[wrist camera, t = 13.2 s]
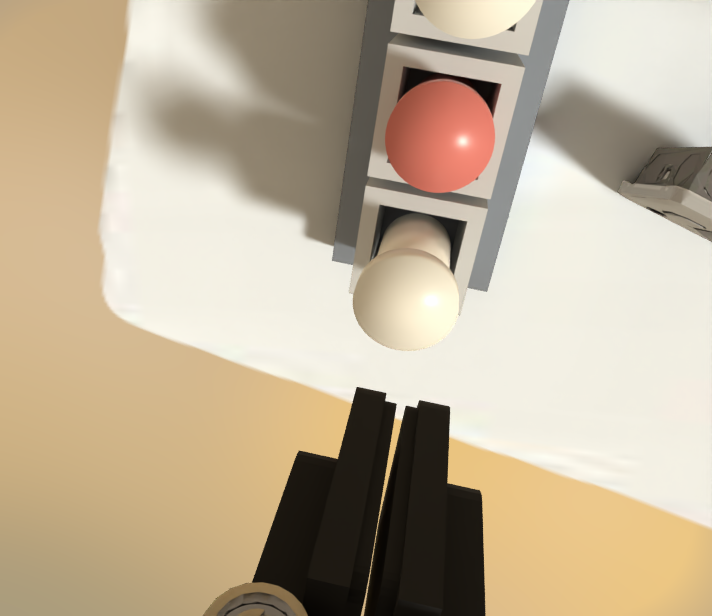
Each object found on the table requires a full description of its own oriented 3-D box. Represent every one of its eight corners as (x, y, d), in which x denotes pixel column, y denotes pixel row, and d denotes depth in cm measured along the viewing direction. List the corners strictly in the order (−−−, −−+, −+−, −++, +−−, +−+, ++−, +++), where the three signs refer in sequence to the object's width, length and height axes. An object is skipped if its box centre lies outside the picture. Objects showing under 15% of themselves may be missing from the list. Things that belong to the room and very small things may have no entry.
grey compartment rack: (595, -115, 37) (632, -138, 28) (486, 277, 50) (490, 339, 41) (393, -146, 38) (373, -178, 29) (337, 248, 50) (312, 303, 42)
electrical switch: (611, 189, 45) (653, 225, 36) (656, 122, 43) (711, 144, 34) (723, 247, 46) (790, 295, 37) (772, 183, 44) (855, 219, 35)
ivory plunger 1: (469, 213, 39) (469, 269, 32) (449, 292, 41) (446, 360, 34) (380, 196, 39) (361, 247, 32) (366, 275, 42) (346, 339, 35)
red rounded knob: (500, 70, 38) (507, 93, 31) (477, 160, 40) (480, 201, 33) (408, 53, 38) (395, 73, 31) (392, 144, 41) (377, 182, 34)
